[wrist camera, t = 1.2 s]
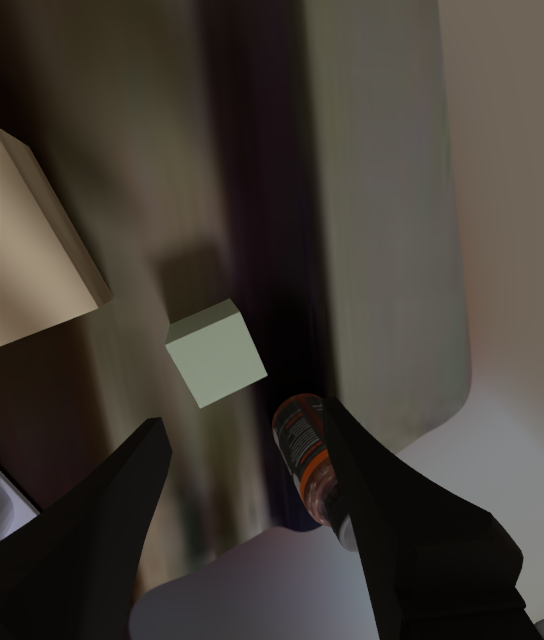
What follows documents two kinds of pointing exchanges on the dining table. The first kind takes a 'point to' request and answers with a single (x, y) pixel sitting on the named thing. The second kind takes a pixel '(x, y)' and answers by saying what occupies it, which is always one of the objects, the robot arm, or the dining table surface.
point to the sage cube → (214, 352)
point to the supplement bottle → (312, 464)
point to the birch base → (39, 251)
